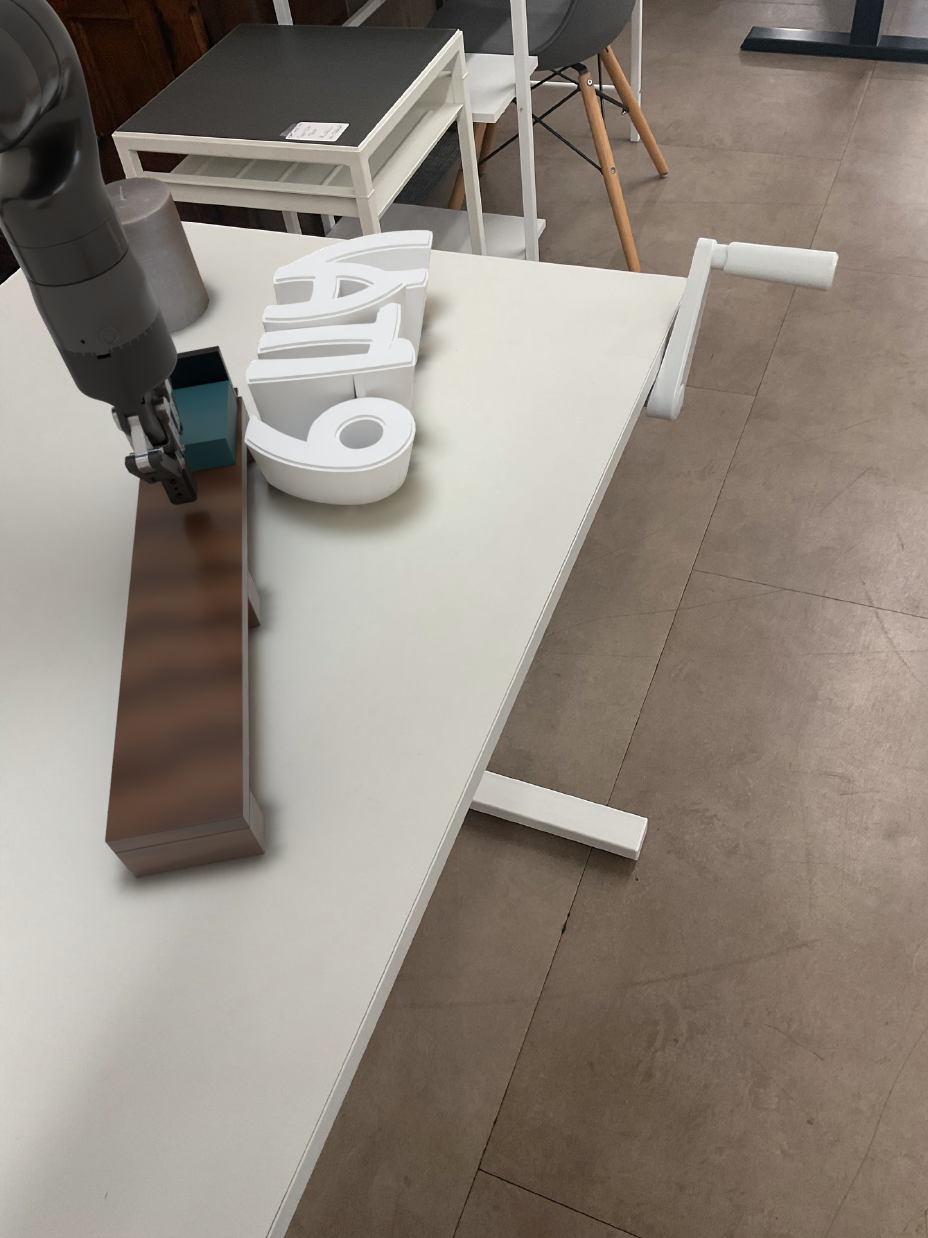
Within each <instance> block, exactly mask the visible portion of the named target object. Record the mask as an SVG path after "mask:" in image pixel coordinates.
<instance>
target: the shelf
mask: <svg viewBox="0 0 928 1238" xmlns="http://www.w3.org/2000/svg"><path fill="white" fill-rule="evenodd" d="M249 420H250V415H249V413H248V410H247V407H246V405H245V401H244V399H243V396H241V395H238V428H237V450H236V464H235V465H229V466H223V467H217V468H211V469H206V470H200V471H194V472H192V474H193V476H194V479H195V481H196V483H197V500H196V501H194V502H190V503H185V504H180V505H174V504H172V503H171V502H170V500H169V498H168V496H167V493H166V491H165V489H164V487H163V485H162V483H161V481H160V482H156V483H153V484H149V483H147V482H145V481H144V480H142V479H140V478H139V481H138V492H137V501H136V512H135V513H136V514H135V524H134V535H133V544H132V556H131V564H130V565H131V566H130V575H129V587H128V595H127V606H126V619H125V627H124V629H125V631H124V637H123V639H124V640H123V650H122V658H121V659H122V660H121V670H120V680H119V692H118V700H117V711H116V724H115V731H114V744H113V751H112V753H113V754H112V764H111V772H110V773H111V774H110V783H109V784H110V785H109V794H108V795H109V796H108V803H107V804H108V806H107V817H106V827H105V837H104V843H105V844H106V845H107V846H108V848H109V849H110V850H111V851H112V852H113V853H114V855H115V856H116V857H117V858H118V859H119V860H120V861H121V863H122V864H123V865H124V866H125V868H126V869H127V870H128V871H129V872H130V874H131V875H132V876H133V877H134V878H135V879H138V878H142V877H143V878H144V877H148V876H154V875H158V874H164V873H169V872H170V873H171V872H175V871H181V870H185V869H190V868H191V869H192V868H197V867H201V866H206V865H212V864H218V863H222V862H223V863H224V862H228V861H234V860H240V859H245V858H249V857H254V856H261V855H265V853H266V838H265V836H266V833H265V831H266V830H265V815H264V812H263V811H262V809H261V808H260V806H259V804H258V802H257V800H256V798H255V797H254V795H253V793H252V791H251V790H250V736H249V735H250V734H249V733H250V731H249V728H250V726H249V723H250V722H249V721H250V719H249V716H250V715H249V714H250V713H249V629H250V628H254V627H259V626H261V625H262V613H261V612H262V611H261V610H262V609H261V607H262V606H261V597H260V594H259V592H258V590H257V586H256V585H255V582H254V581H253V578H252V575H251V573H250V571H249V569H248V463H253V462H256V461H255V459H254V457H253V456H252V454H251V452H250V450H249V449H248V447H247V445H246V443H245V434H246V429H247V426H248V423H249Z"/></svg>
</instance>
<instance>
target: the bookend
mask: <svg viewBox="0 0 928 1238" xmlns="http://www.w3.org/2000/svg"><path fill="white" fill-rule="evenodd" d="M170 380H171V384H172V388H173V390H174V389H180V388H186V387H192V386H198V385H204V384H209V383H215V382H221V381H227V380H229V382H230V385H231V387H232V390H233V393H234V396H235V398H236V401H237V404H238V397H239V388H238V387H237V386H236V387H234V384H233V381H232V378H231V376H230V373H229V370H228V368H227V365H226V362H225V359H224V356H223V353H222V351H221V348H220V346H219V345H215V346H208V347H204V348H203V347H202V348H197V349H193V350H187V351H182V352H177V363H176V366H175V368H174V370H173V372H172V373H171V375H170Z"/></svg>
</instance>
